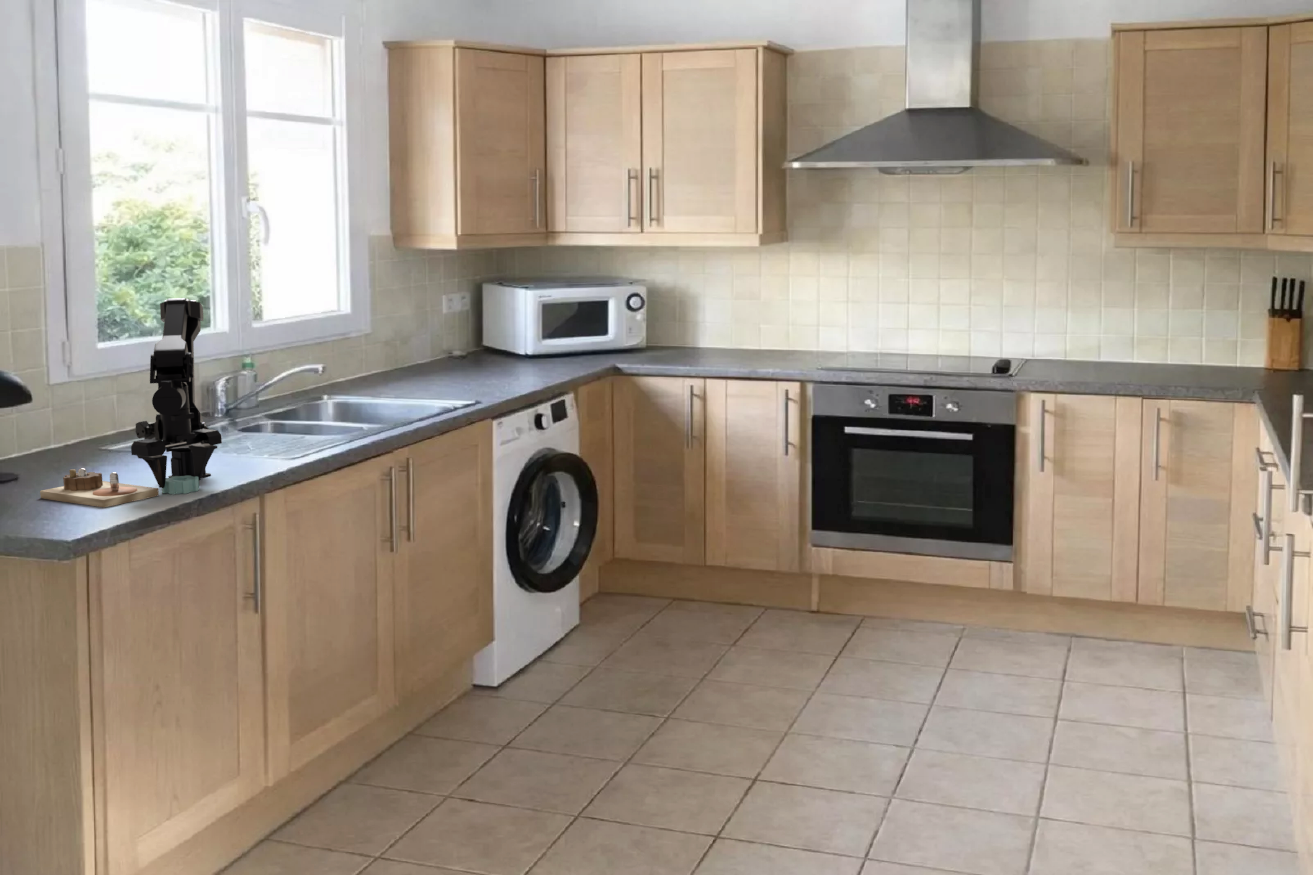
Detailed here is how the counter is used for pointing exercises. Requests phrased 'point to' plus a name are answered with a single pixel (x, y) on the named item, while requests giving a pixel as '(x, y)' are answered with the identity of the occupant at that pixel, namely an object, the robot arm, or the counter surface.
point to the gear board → (101, 494)
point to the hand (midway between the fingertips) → (180, 483)
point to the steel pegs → (113, 478)
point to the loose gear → (181, 484)
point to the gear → (82, 481)
